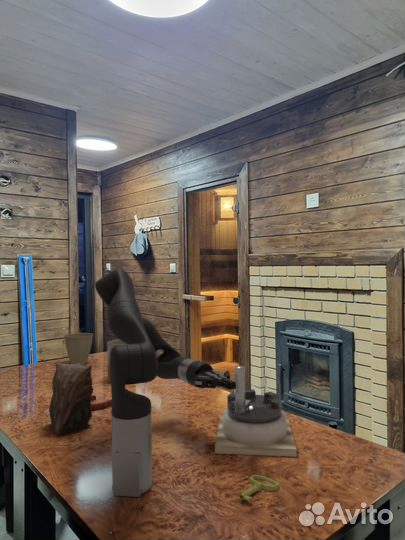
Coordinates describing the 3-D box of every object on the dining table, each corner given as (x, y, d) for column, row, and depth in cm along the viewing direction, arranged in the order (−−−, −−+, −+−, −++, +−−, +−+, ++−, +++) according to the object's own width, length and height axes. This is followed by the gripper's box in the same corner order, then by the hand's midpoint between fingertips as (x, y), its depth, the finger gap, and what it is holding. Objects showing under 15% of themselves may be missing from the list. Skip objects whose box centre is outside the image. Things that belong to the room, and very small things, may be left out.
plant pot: (96, 365, 210) (96, 335, 210) (68, 369, 202) (67, 338, 202) (88, 360, 222) (88, 331, 222) (61, 363, 215) (61, 334, 214)
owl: (48, 423, 131) (47, 363, 131) (87, 416, 137) (86, 358, 137) (54, 437, 120) (53, 371, 120) (96, 428, 126) (95, 366, 126)
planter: (139, 382, 177) (138, 343, 177) (110, 386, 172) (109, 345, 172) (133, 375, 189) (132, 338, 189) (105, 378, 184) (105, 340, 184)
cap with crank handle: (292, 412, 118) (292, 357, 118) (248, 433, 104) (247, 370, 104) (250, 400, 130) (249, 349, 130) (205, 417, 115) (204, 360, 115)
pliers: (46, 417, 138) (46, 409, 138) (93, 400, 155) (93, 393, 155) (68, 425, 131) (68, 416, 131) (115, 406, 148) (115, 399, 148)
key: (237, 505, 85) (237, 495, 85) (252, 477, 97) (252, 468, 97) (271, 512, 83) (270, 502, 83) (281, 483, 94) (281, 474, 94)
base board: (296, 456, 106) (296, 449, 106) (215, 453, 109) (214, 446, 109) (288, 424, 128) (288, 418, 128) (220, 422, 131) (220, 416, 131)
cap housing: (290, 446, 108) (290, 428, 108) (220, 443, 110) (220, 425, 110) (283, 419, 127) (283, 404, 127) (224, 418, 129) (224, 402, 129)
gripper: (177, 363, 117) (213, 376, 103) (212, 357, 125) (250, 368, 111) (177, 389, 117) (214, 404, 103) (212, 381, 125) (250, 394, 111)
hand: (232, 385), depth 107 cm, fingers closed
